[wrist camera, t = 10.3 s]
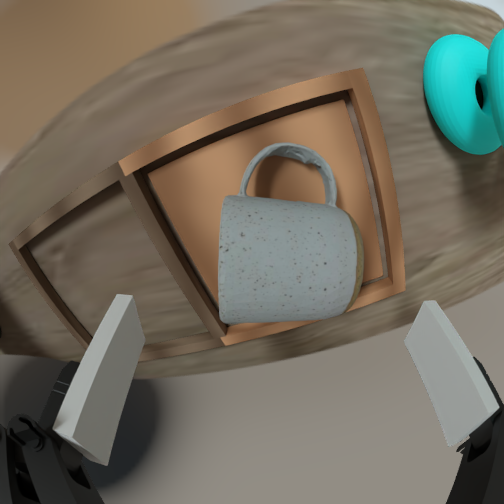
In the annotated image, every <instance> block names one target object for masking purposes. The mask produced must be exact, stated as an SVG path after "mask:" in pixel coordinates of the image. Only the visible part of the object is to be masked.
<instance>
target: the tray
mask: <svg viewBox="0 0 504 504" xmlns="http://www.w3.org/2000/svg"><path fill="white" fill-rule="evenodd" d="M346 89H347V90H348V93H349V96H350V99H351V102H352V105H353V108H354V111H355V114H356V117H357V120H358V124H359V127H360V130H361V134H362V138H363V141H364V145H365V149H366V152H367V156H368V160H369V164H370V169H371V173H372V177H373V182H374V186H375V191H376V196H377V201H378V207H379V212H380V218H381V224H382V230H383V237H384V244H385V251H386V260H387V268H388V277H387V278H385V279H382V280H379V281H376V282H374V283H371V284H368V285H365V286H362V287H361V288H360V292H359V294H358V296H357V298H356V300H355V302H354V304H353V305H352V307H351V308H350V309H349V310H348V311H351V310H354V309H357V308H360V307H362V306H365V305H368V304H371V303H374V302H376V301H379V300H382V299H385V298H387V297H390V296H392V295H395V294H398V293H400V292H403V291H405V268H404V254H403V242H402V232H401V224H400V216H399V209H398V202H397V195H396V189H395V184H394V178H393V173H392V168H391V163H390V159H389V154H388V150H387V145H386V141H385V137H384V133H383V129H382V126H381V122H380V118H379V115H378V111H377V108H376V105H375V102H374V98H373V95H372V92H371V89H370V86H369V83H368V80H367V78H366V75H365V72H364V69H363V68H359V69H354V70H349V71H344V72H340V73H335V74H331V75H326V76H322V77H318V78H314V79H311V80H307V81H303V82H300V83H296V84H293V85H289V86H286V87H283V88H280V89H276V90H273V91H270V92H267V93H264V94H261V95H259V96H256V97H253V98H250V99H247V100H245V101H242V102H239V103H237V104H234V105H232V106H229V107H227V108H224V109H222V110H219V111H217V112H214V113H212V114H210V115H207V116H205V117H203V118H201V119H198V120H196V121H194V122H192V123H190V124H188V125H185V126H183V127H181V128H179V129H177V130H175V131H173V132H171V133H169V134H167V135H165V136H163V137H161V138H159V139H157V140H155V141H154V142H152V143H150V144H148V145H146V146H144V147H142V148H141V149H139V150H137V151H135V152H134V153H132V154H130V155H128V156H127V157H125V158H123V159H122V160H120V161H118V162H117V163H115V164H113V165H112V166H110V167H109V168H107V169H105V170H104V171H102V172H101V173H99V174H98V175H96V176H95V177H93V178H92V179H90V180H89V181H87V182H86V183H84V184H83V185H81V186H80V187H78V188H77V189H76V190H74V191H73V192H71V193H70V194H69V195H67V196H66V197H65V198H63V199H62V200H61V201H59V202H58V203H57V204H55V205H54V206H53V207H51V208H50V209H49V210H48V211H46V212H45V213H44V214H43V215H41V216H40V217H39V218H38V219H36V220H35V221H34V222H33V223H32V224H30V225H29V226H28V227H27V228H26V229H25V230H24V231H22V232H21V233H20V234H19V235H18V236H17V237H16V238H15V239H14V240H12V241H11V242H10V243H9V246H10V247H11V249H12V251H13V253H14V254H15V256H16V258H17V259H18V261H19V263H20V264H21V266H22V267H23V269H24V271H25V272H26V274H27V275H28V277H29V278H30V280H31V281H32V283H33V284H34V286H35V287H36V289H37V290H38V291H39V293H40V294H41V296H42V297H43V298H44V300H45V301H46V302H47V304H48V305H49V306H50V308H51V309H52V310H53V312H54V313H55V314H56V316H57V317H58V318H59V319H60V321H61V322H62V323H63V324H64V325H65V327H66V328H67V329H68V330H69V331H70V333H71V334H72V335H73V336H74V337H75V338H76V339H77V341H78V342H79V343H80V344H81V345H82V346H83V347H84V348H85V349H86V351H87V349H88V347H89V345H90V343H91V341H92V337H91V336H90V335H89V334H88V333H87V332H86V330H85V329H84V328H83V327H82V326H81V324H80V323H79V322H78V321H77V320H76V318H75V317H74V316H73V315H72V313H71V312H70V311H69V309H68V308H67V307H66V306H65V304H64V303H63V302H62V300H61V299H60V298H59V296H58V295H57V293H56V292H55V291H54V289H53V288H52V286H51V285H50V283H49V282H48V281H47V279H46V278H45V276H44V275H43V273H42V272H41V270H40V269H39V267H38V265H37V264H36V262H35V261H34V259H33V257H32V256H31V254H30V252H29V251H28V249H27V247H26V246H25V244H26V243H27V242H28V241H30V240H31V239H32V238H34V237H35V236H36V235H37V234H39V233H40V232H41V231H43V230H44V229H45V228H47V227H48V226H49V225H51V224H52V223H53V222H55V221H56V220H58V219H59V218H60V217H62V216H63V215H65V214H66V213H68V212H69V211H70V210H72V209H73V208H75V207H76V206H78V205H79V204H81V203H82V202H84V201H85V200H87V199H89V198H90V197H92V196H93V195H95V194H96V193H98V192H100V191H101V190H103V189H105V188H106V187H108V186H110V185H111V184H113V183H115V182H116V181H118V180H119V181H120V183H121V185H122V187H123V189H124V191H125V193H126V195H127V196H128V198H129V200H130V202H131V204H132V206H133V208H134V210H135V212H136V213H137V215H138V217H139V219H140V221H141V222H142V224H143V226H144V228H145V230H146V231H147V233H148V235H149V237H150V238H151V240H152V242H153V244H154V245H155V247H156V249H157V251H158V252H159V254H160V256H161V257H162V259H163V261H164V262H165V264H166V266H167V267H168V269H169V271H170V272H171V274H172V275H173V277H174V279H175V280H176V282H177V283H178V285H179V287H180V288H181V290H182V291H183V293H184V295H185V296H186V298H187V299H188V301H189V302H190V304H191V305H192V307H193V308H194V310H195V311H196V313H197V314H198V316H199V317H200V319H201V320H202V322H203V323H204V325H205V326H206V328H207V329H208V331H209V332H205V333H201V334H196V335H192V336H187V337H183V338H178V339H174V340H169V341H164V342H159V343H154V344H149V345H144V346H143V348H142V351H141V354H140V357H139V360H138V362H140V361H146V360H153V359H159V358H165V357H171V356H177V355H182V354H187V353H193V352H198V351H203V350H208V349H212V348H217V347H222V346H226V345H230V344H235V343H239V342H243V341H247V340H251V339H256V338H259V337H263V336H267V335H271V334H275V333H279V332H282V331H286V330H289V329H293V328H296V327H300V326H303V325H307V324H310V323H313V322H317V321H320V320H307V321H287V322H265V323H241V324H237V325H233V326H229V327H227V326H226V325H225V323H223V322H222V321H221V320H220V316H219V313H218V312H217V310H216V309H215V307H214V305H213V304H212V302H211V300H210V299H209V297H208V295H207V294H206V292H205V290H204V289H203V287H202V285H201V284H200V282H199V280H198V279H197V277H196V275H195V273H194V272H193V270H192V268H191V266H190V265H189V263H188V261H187V260H186V258H185V256H184V254H183V252H182V251H181V249H180V247H179V245H178V243H177V242H176V240H175V238H174V236H173V234H172V233H171V231H170V229H169V227H168V225H167V223H166V221H165V220H164V218H163V216H162V214H161V212H160V210H159V208H158V206H157V204H156V202H155V201H154V199H153V197H152V195H151V193H150V191H149V189H148V187H147V185H146V183H145V181H144V179H143V177H142V175H141V173H140V171H139V168H141V167H143V166H145V165H147V164H149V163H151V162H153V161H155V160H156V159H158V158H160V157H162V156H164V155H166V154H168V153H170V152H172V151H175V150H177V149H179V148H181V147H183V146H185V145H187V144H189V143H192V142H194V141H196V140H198V139H200V138H203V137H205V136H207V135H210V134H212V133H214V132H217V131H219V130H222V129H224V128H226V127H229V126H231V125H234V124H237V123H239V122H242V121H244V120H247V119H250V118H252V117H255V116H258V115H261V114H264V113H267V112H269V111H272V110H275V109H278V108H281V107H285V106H288V105H291V104H294V103H297V102H301V101H304V100H308V99H311V98H315V97H318V96H322V95H326V94H330V93H334V92H338V91H342V90H346ZM286 142H289V143H295V144H300V145H303V146H306V147H308V148H310V149H312V150H314V151H316V152H317V153H318V154H319V155H321V156H322V157H323V158H324V159H325V161H326V162H327V163H328V164H329V166H330V167H331V169H332V172H333V175H334V178H335V180H336V188H337V200H336V206H337V207H338V208H340V209H342V210H344V211H346V212H347V213H349V214H350V215H351V217H352V218H353V219H354V220H355V222H356V224H357V225H358V227H359V230H360V233H361V236H362V241H363V246H364V272H363V280H362V283H364V282H367V281H369V280H372V279H375V278H378V277H381V276H383V271H382V262H381V255H380V248H379V241H378V235H377V229H376V223H375V218H374V212H373V207H372V202H371V197H370V192H369V188H368V183H367V179H366V175H365V171H364V167H363V163H362V159H361V155H360V151H359V147H358V144H357V140H356V137H355V133H354V130H353V127H352V123H351V120H350V117H349V114H348V111H347V108H346V105H345V102H344V99H343V100H339V101H335V102H331V103H327V104H323V105H320V106H316V107H313V108H309V109H306V110H303V111H299V112H296V113H293V114H290V115H286V116H283V117H280V118H277V119H274V120H271V121H269V122H266V123H263V124H260V125H257V126H255V127H252V128H249V129H246V130H244V131H241V132H239V133H236V134H233V135H231V136H228V137H226V138H223V139H221V140H219V141H216V142H214V143H211V144H209V145H207V146H204V147H202V148H200V149H198V150H195V151H193V152H191V153H189V154H187V155H184V156H182V157H180V158H178V159H176V160H174V161H172V162H170V163H168V164H165V165H163V166H161V167H159V168H157V169H155V170H153V171H152V172H150V173H148V176H149V178H150V180H151V182H152V184H153V186H154V188H155V190H156V192H157V194H158V196H159V198H160V200H161V202H162V204H163V206H164V208H165V210H166V212H167V214H168V215H169V217H170V219H171V221H172V223H173V225H174V227H175V229H176V231H177V232H178V234H179V236H180V238H181V240H182V242H183V243H184V245H185V247H186V249H187V251H188V253H189V254H190V256H191V258H192V260H193V261H194V263H195V265H196V267H197V269H198V270H199V272H200V274H201V276H202V277H203V279H204V281H205V283H206V284H207V286H208V288H209V289H210V291H211V293H212V295H213V296H214V298H215V300H216V301H217V303H218V305H219V297H218V293H219V290H218V260H219V233H220V221H221V210H222V203H223V200H224V198H225V197H226V196H228V195H238V193H239V191H240V186H241V182H242V178H243V175H244V173H245V171H246V168H247V166H248V165H249V163H250V162H251V160H252V159H253V158H254V157H255V156H256V155H257V154H258V153H259V152H260V151H261V150H263V149H264V148H265V147H268V146H270V145H273V144H275V143H286ZM246 193H247V195H248V196H251V197H262V198H272V199H280V200H287V201H295V202H296V201H302V202H310V203H319V204H325V188H324V184H323V179H322V176H321V174H320V173H319V171H318V170H317V168H316V167H315V166H314V165H313V164H312V163H310V164H304V163H303V162H302V161H300V160H297V159H294V158H289V157H282V156H277V155H273V156H269V157H266V158H264V159H263V160H261V161H260V162H259V164H258V165H257V166H256V167H255V169H254V171H253V172H252V174H251V177H250V179H249V182H248V186H247V190H246ZM348 311H347V312H348ZM321 320H323V319H321Z"/></svg>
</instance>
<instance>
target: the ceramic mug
mask: <svg viewBox="0 0 504 504" xmlns="http://www.w3.org/2000/svg"><path fill="white" fill-rule="evenodd" d="M273 155H277V156H282V157H289V158H294V159H297V160H300V161H302V162H303V163H304V164H310V163H312V164H313V165H314V166H315V167H316V168H317V170H318V171H319V173H320V174H321V176H322V179H323V184H324V188H325V204H319V203H310V202H302V201H296V202H295V201H287V200H280V199H272V198H262V197H251V196H248V195H247V193H246V190H247V186H248V182H249V179H250V177H251V174H252V172H253V171H254V169H255V167H256V166H257V165H258V164H259V162H260V161H261V160H263V159H264V158H266V157H269V156H273ZM336 200H337V188H336V180H335V178H334V175H333V172H332V169H331V167H330V166H329V164H328V163H327V162H326V161H325V159H324V158H323V157H322V156H321V155H319V154H318V153H317V152H316V151H314V150H312V149H310V148H308V147H306V146H303V145H300V144H295V143H289V142H286V143H275V144H273V145H270V146H268V147H265V148H264V149H263V150H261V151H260V152H259V153H258V154H257V155H256V156H255V157H254V158H253V159H252V160H251V162H250V163H249V165H248V166H247V168H246V171H245V173H244V175H243V178H242V182H241V186H240V191H239V193H238V195H228V196H226V197H225V198H224V200H223V203H222V210H221V221H220V233H219V260H218V290H219V293H218V297H219V316H220V320H221V321H222V322H223V323H226V324H233V323H265V322H287V321H307V320H321V319H327V318H331V317H334V316H338V315H341V314H343V313H345V312H347V311H348V310H349V309H350V308H351V307H352V305H353V304H354V302H355V300H356V298H357V296H358V294H359V292H360V288H361V284H362V280H363V272H364V246H363V241H362V236H361V233H360V230H359V227H358V225H357V224H356V222H355V220H354V219H353V218H352V217H351V215H350V214H349V213H347V212H346V211H344V210H342V209H340V208H338V207H337V206H336Z"/></svg>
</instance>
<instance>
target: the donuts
mask: <svg viewBox="0 0 504 504" xmlns="http://www.w3.org/2000/svg"><path fill="white" fill-rule="evenodd" d="M477 80H478V81H479V83H480V86H481V88H482V92H483V108H482V110H481V108H480V106H479V104H478V102H477V99H476V94H475V84H476V81H477ZM423 82H424V91H425V96H426V99H427V103H428V106H429V109H430V111H431V114H432V116H433V118H434V120H435V122H436V123H437V125H438V127H439V128H440V130H441V131H442V132H443V134H444V135H445V136H446V137H447V138H448V140H450V141H451V142H452V143H453V144H454V145H455V146H457V147H458V148H460V149H461V150H463V151H465V152H468V153H471V154H477V155H483V154H488V153H491V152H493V151H495V150H496V149H498V148H499V147H500V146H501V145H502V146H503V148H504V29H502V30H501V31H499V32H498V34H497V35H496V36H495V37H494V39H493V41H492V43H491V46H490V49H489V50H488V49H487V48H486V47H485V46H484V45H482V44H481V43H480V42H478V41H476V40H474V39H472V38H470V37H468V36H464V35H458V34H452V35H447V36H444V37H442V38H440V39H438V40H437V41H436V42H435V43H434V44H433V45H432V46H431V48H430V49H429V51H428V53H427V56H426V59H425V63H424V70H423Z"/></svg>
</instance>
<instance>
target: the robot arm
mask: <svg viewBox="0 0 504 504" xmlns="http://www.w3.org/2000/svg"><path fill="white" fill-rule="evenodd" d="M0 338H1V329H0ZM144 343H145V337H144V334H143V331H142V327H141V324H140V320H139V317H138V313H137V309H136V306H135V302H134V298H133V296H132V295H122V294H117V295H116V297H115V299H114V301H113V302H112V304H111V306H110V308H109V309H108V311H107V313H106V315H105V317H104V318H103V320H102V322H101V324H100V326H99V328H98V330H97V331H96V333H95V335H94V337H93V339H92V341H91V343H90V345H89V347H88V349H87V351H86V353H85V355H84V357H83V359H82V361H81V363H78V362H74V361H70V362H69V363H68V364H67V365H66V366H65V367H64V368H63V369H62V371H61V373H60V375H59V377H58V379H57V383H55V385H54V388H53V391H52V392H51V394H50V396H49V399H48V401H47V403H46V405H45V408H44V410H43V412H42V415H41V417H40V420H39V421H38V423H36V422H35V421H34V420H33V419H32V418H31V417H30V416H28V415H26V414H17V415H16V416H14V417H13V418H12V419H11V420H10V421H9V424H8V427H7V429H5V428H4V427H3V426H2V425H1V424H0V504H104V502H103V500H102V498H101V497H100V495H99V493H98V491H97V489H96V488H95V486H94V484H93V482H92V480H91V478H90V476H89V474H88V472H87V470H86V468H85V466H84V464H83V462H82V461H81V460H82V456H83V455H84V456H85V457H87V458H88V459H89V460H91V461H94V462H97V463H100V464H103V465H106V466H107V465H108V461H109V457H110V453H111V448H112V445H113V441H114V438H115V434H116V430H117V427H118V423H119V419H120V416H121V413H122V409H123V406H124V403H125V399H126V396H127V393H128V390H129V387H130V384H131V381H132V378H133V375H134V372H135V369H136V366H137V363H138V360H139V357H140V354H141V351H142V348H143V346H144ZM404 343H405V345H406V347H407V349H408V351H409V353H410V355H411V357H412V359H413V362H414V364H415V366H416V368H417V370H418V372H419V374H420V377H421V379H422V381H423V383H424V385H425V388H426V390H427V392H428V395H429V397H430V400H431V402H432V404H433V407H434V409H435V412H436V414H437V417H438V419H439V422H440V425H441V427H442V430H443V432H444V435H445V438H446V441H447V444H448V447H450V446H452V445H454V444H456V443H459V442H461V441H462V440H463V439H464V438H466V437H467V436H468V435H469V436H470V438H469V439H468V440H467V441H466V442H464V443H463V444H462V445H460V446H459V447H458V449H457V451H456V452H459V451H460V450H461V449H463V448H464V447H465V448H464V449H463V450H462V451H461V452H460V453H462V454H463V457H462V460H461V464H460V467H459V470H458V473H457V476H456V479H455V482H454V485H453V487H452V490H451V492H450V495H449V497H448V500H447V502H446V504H504V404H503V403H502V401H501V399H500V397H499V395H498V393H497V391H496V389H495V387H494V385H493V383H492V382H491V381H490V378H489V376H488V374H486V371H485V369H484V367H483V365H482V364H481V363H480V362H479V361H478V360H477V359H476V358H475V357H472V355H471V354H470V352H469V351H468V349H467V347H466V345H465V344H464V342H463V341H462V339H461V338H460V336H459V335H458V333H457V331H456V330H455V328H454V327H453V325H452V324H451V322H450V321H449V320H448V318H447V317H446V315H445V314H444V312H443V311H442V309H441V308H440V307H439V305H438V304H437V302H436V301H435V300H433V301H424V302H423V304H422V306H421V308H420V310H419V312H418V315H417V317H416V319H415V321H414V323H413V325H412V327H411V328H410V330H409V332H408V334H407V336H406V338H405V340H404Z"/></svg>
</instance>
